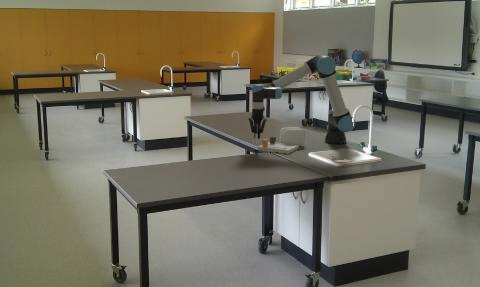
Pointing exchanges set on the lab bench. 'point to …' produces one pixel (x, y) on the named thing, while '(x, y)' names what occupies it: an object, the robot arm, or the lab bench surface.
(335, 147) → the lab bench surface
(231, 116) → the lab bench surface
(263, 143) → the orange fader
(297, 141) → the cable organizer
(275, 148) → the mixing board
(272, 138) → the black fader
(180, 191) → the lab bench surface
